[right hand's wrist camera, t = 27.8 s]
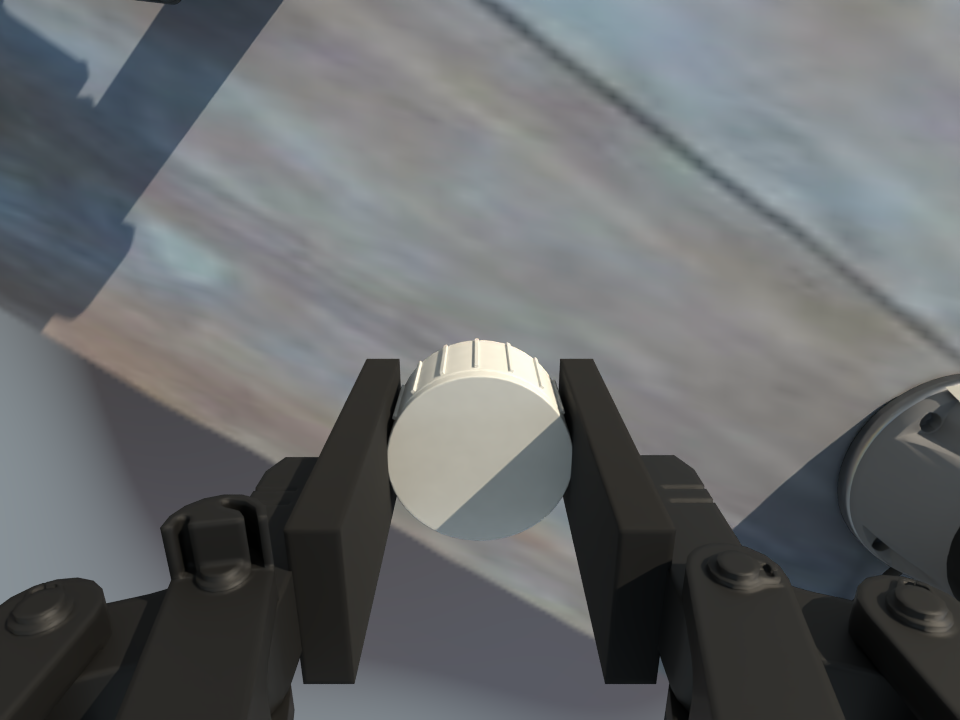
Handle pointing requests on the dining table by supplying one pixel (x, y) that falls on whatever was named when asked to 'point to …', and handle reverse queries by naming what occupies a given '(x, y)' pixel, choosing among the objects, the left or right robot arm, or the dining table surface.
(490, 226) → the dining table surface
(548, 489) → the cap
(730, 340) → the dining table surface
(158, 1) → the left robot arm
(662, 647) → the right robot arm
